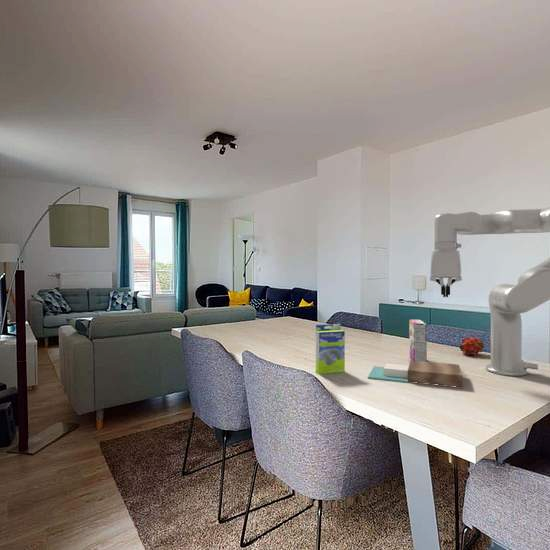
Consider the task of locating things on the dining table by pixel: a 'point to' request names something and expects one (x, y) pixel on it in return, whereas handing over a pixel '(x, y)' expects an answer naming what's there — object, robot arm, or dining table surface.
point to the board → (435, 373)
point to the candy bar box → (417, 340)
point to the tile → (396, 370)
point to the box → (330, 349)
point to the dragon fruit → (471, 346)
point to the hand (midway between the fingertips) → (445, 296)
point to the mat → (378, 374)
